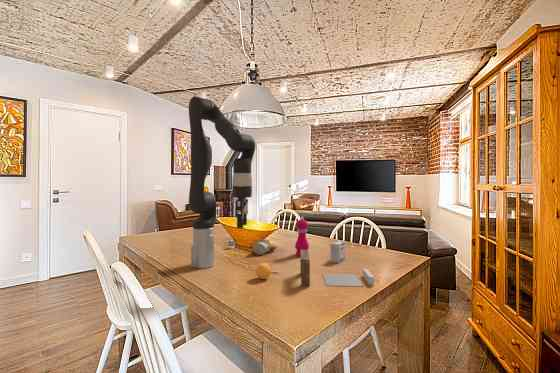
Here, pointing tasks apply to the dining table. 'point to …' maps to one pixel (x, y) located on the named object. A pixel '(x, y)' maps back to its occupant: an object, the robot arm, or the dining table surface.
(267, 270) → the ball
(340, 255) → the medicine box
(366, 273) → the stopper wall
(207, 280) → the dining table surface
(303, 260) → the bridge
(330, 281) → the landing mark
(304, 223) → the magenta tall lumpy piece
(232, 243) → the coffee cup
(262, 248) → the ceramic sculpture
